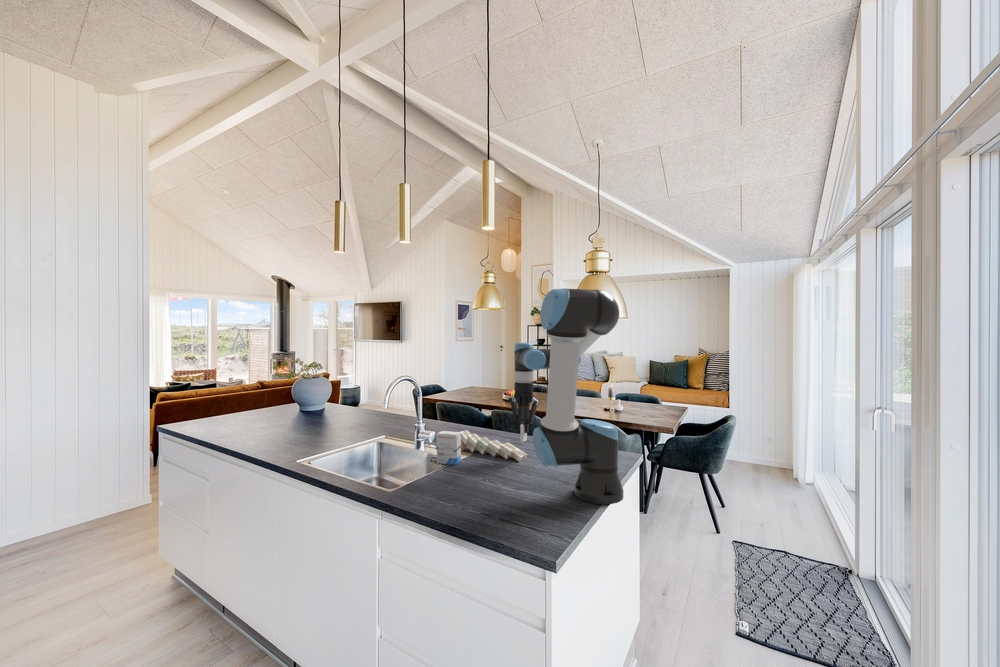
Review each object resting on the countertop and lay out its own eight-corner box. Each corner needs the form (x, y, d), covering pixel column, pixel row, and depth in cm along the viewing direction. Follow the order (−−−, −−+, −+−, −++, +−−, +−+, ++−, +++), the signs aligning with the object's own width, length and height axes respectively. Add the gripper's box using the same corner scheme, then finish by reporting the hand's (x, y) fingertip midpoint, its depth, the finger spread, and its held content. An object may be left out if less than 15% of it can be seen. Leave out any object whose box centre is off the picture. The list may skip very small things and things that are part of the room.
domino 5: (521, 457, 162) (501, 444, 167) (519, 461, 163) (499, 449, 168) (527, 454, 167) (507, 442, 172) (525, 458, 167) (506, 446, 172)
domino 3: (495, 452, 169) (477, 439, 174) (494, 456, 169) (476, 442, 174) (502, 449, 173) (484, 436, 178) (500, 453, 173) (483, 440, 178)
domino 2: (484, 450, 172) (468, 435, 176) (482, 454, 172) (466, 439, 177) (491, 447, 176) (474, 433, 180) (489, 451, 177) (473, 436, 181)
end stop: (462, 450, 178) (462, 441, 178) (456, 449, 179) (456, 440, 179) (469, 447, 182) (469, 438, 182) (464, 446, 184) (464, 437, 184)
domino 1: (474, 449, 174) (459, 431, 179) (472, 452, 175) (457, 435, 179) (481, 446, 179) (467, 429, 183) (479, 449, 179) (464, 432, 184)
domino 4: (508, 455, 166) (489, 442, 171) (506, 459, 166) (487, 446, 171) (514, 451, 170) (495, 439, 175) (513, 456, 170) (494, 443, 175)
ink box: (461, 461, 163) (461, 431, 163) (456, 465, 158) (456, 435, 158) (441, 459, 166) (441, 430, 166) (435, 463, 161) (435, 433, 161)
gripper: (542, 381, 164) (542, 440, 164) (514, 379, 171) (514, 436, 171) (534, 383, 158) (533, 445, 158) (505, 381, 165) (504, 440, 165)
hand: (523, 440), depth 165 cm, fingers closed
